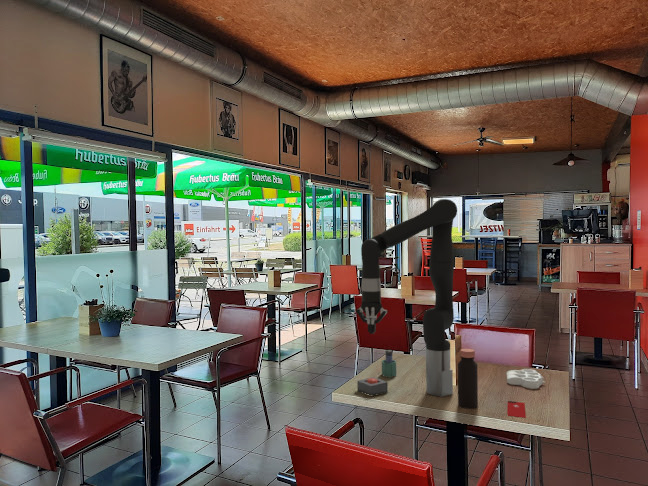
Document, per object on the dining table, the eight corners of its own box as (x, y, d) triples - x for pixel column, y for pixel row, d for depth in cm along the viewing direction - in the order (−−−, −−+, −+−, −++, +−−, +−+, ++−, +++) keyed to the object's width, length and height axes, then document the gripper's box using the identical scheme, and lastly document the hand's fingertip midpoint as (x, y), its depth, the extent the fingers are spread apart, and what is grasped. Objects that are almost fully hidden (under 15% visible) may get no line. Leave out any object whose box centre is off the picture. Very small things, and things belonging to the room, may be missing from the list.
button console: (387, 392, 187) (387, 382, 187) (370, 396, 182) (370, 386, 182) (373, 386, 194) (373, 376, 194) (357, 390, 189) (357, 380, 189)
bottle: (478, 409, 167) (478, 352, 167) (458, 408, 168) (458, 352, 168) (476, 402, 174) (476, 348, 173) (457, 401, 175) (456, 347, 175)
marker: (394, 373, 209) (393, 351, 209) (388, 374, 208) (388, 352, 208) (389, 372, 212) (389, 349, 212) (384, 373, 210) (383, 350, 210)
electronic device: (525, 419, 159) (524, 404, 173) (525, 417, 159) (524, 402, 173) (507, 416, 161) (507, 402, 175) (507, 415, 161) (507, 400, 175)
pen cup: (399, 375, 209) (399, 361, 209) (388, 377, 206) (388, 364, 205) (389, 372, 214) (389, 358, 214) (379, 374, 211) (379, 360, 211)
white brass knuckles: (506, 374, 209) (543, 377, 204) (507, 387, 192) (547, 390, 187) (506, 367, 209) (543, 370, 204) (507, 378, 192) (547, 382, 187)
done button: (379, 387, 187) (379, 380, 187) (371, 389, 185) (371, 381, 185) (373, 385, 191) (373, 377, 191) (365, 386, 189) (365, 379, 189)
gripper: (390, 289, 188) (390, 332, 188) (358, 288, 194) (359, 330, 194) (384, 291, 181) (385, 336, 182) (352, 290, 187) (352, 334, 187)
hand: (371, 333), depth 188 cm, fingers closed
